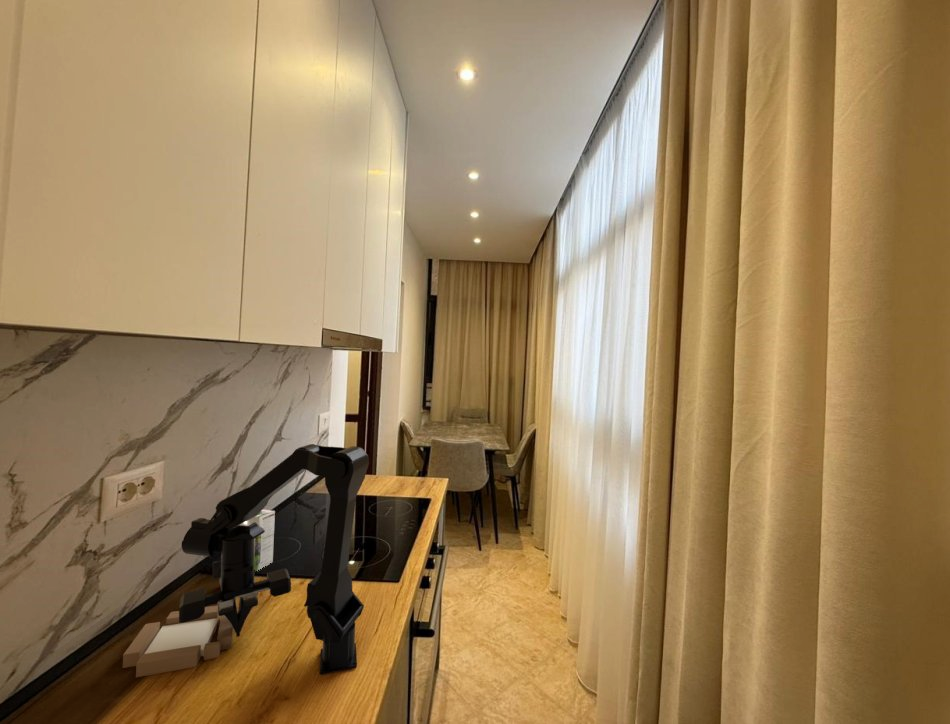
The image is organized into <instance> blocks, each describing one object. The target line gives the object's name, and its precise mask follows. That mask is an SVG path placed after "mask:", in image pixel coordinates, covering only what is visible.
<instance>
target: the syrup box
mask: <svg viewBox="0 0 950 724" xmlns="http://www.w3.org/2000/svg"><path fill="white" fill-rule="evenodd" d="M275 514H276V511H275V510H269V509H264V508H263V509H262V511H261V512H260V513H259V514H258V515H257V516H255V517H253V518H251V519H249V520H250V521H251V524H253V523H255V522H256V523H257V525H258V526H260V527H262V528H263V529H264V530H265V532H264V533H263V534H261V535H259V536H258V537H256V538H255V539H254V570H255V571H254V572H256V571H257V572H259V571H261V570H262V568H263V567H264V568H266V567H267V566H269V565H271V564H272V563H273V562H274V538H275V536H274V535H275V517H276V515H275ZM270 563H271V564H270ZM265 566H266V567H265ZM264 568H263V569H264ZM260 569H261V570H260ZM258 570H259V571H258Z"/></svg>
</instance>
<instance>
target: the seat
mask: <svg viewBox="0 0 950 724" xmlns="http://www.w3.org/2000/svg"><path fill="white" fill-rule="evenodd" d="M220 618H221V616H219V615H218V605H210V606H206V607H205V613H204V614H203V615H202V616H201V617H200V618H198V619H194V620H191V621H187V622H184V623H181V622H179V610H177V611H171V612H170V613H169V614H168V616H167V617H166V623H165V625H162V626H161V622H160V621H157V622H151V623H145V625H143V627H142V628H141V629H140V631H139V632H138V634H137V635H136V636H135V638H134V639H133V640H132V642H131V643H130V644H129V646H128V647H127V649H126V650H125V652H124V653H123V654H122V655H123V656H122V669H125V668H131V667H135V669H136V670H135V678H140V677H145V676H146V677H147V676H152V675H158V674H163V673H168V672H175V671H179V670H184V669H185V670H186V669H190V668H197V666H198V663H199V661H200V659H201V657H203V661H207V660H212V659H213V660H214V659H218V658H219V657H220V655H221V650H220V643H221V641H219V642H217V641H214V642H211V641H212V639H213V637H214V635H215V633H216V630H217V628H218V626H219V625H220Z"/></svg>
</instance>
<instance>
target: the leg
mask: <svg viewBox="0 0 950 724" xmlns="http://www.w3.org/2000/svg"><path fill="white" fill-rule="evenodd" d="M218 626H219V627H218V631H217V632H218V633H217V637H216V642H219V641H221V643H220V651H224V650H228V649H232V644H233V637H234V636H233V635H234V631H235V630H234V628H233V626H232V624H231V623H230V621H229V620H228V619H227V618H226V616H225V615H223V616H220V618H219V624H218Z"/></svg>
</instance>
